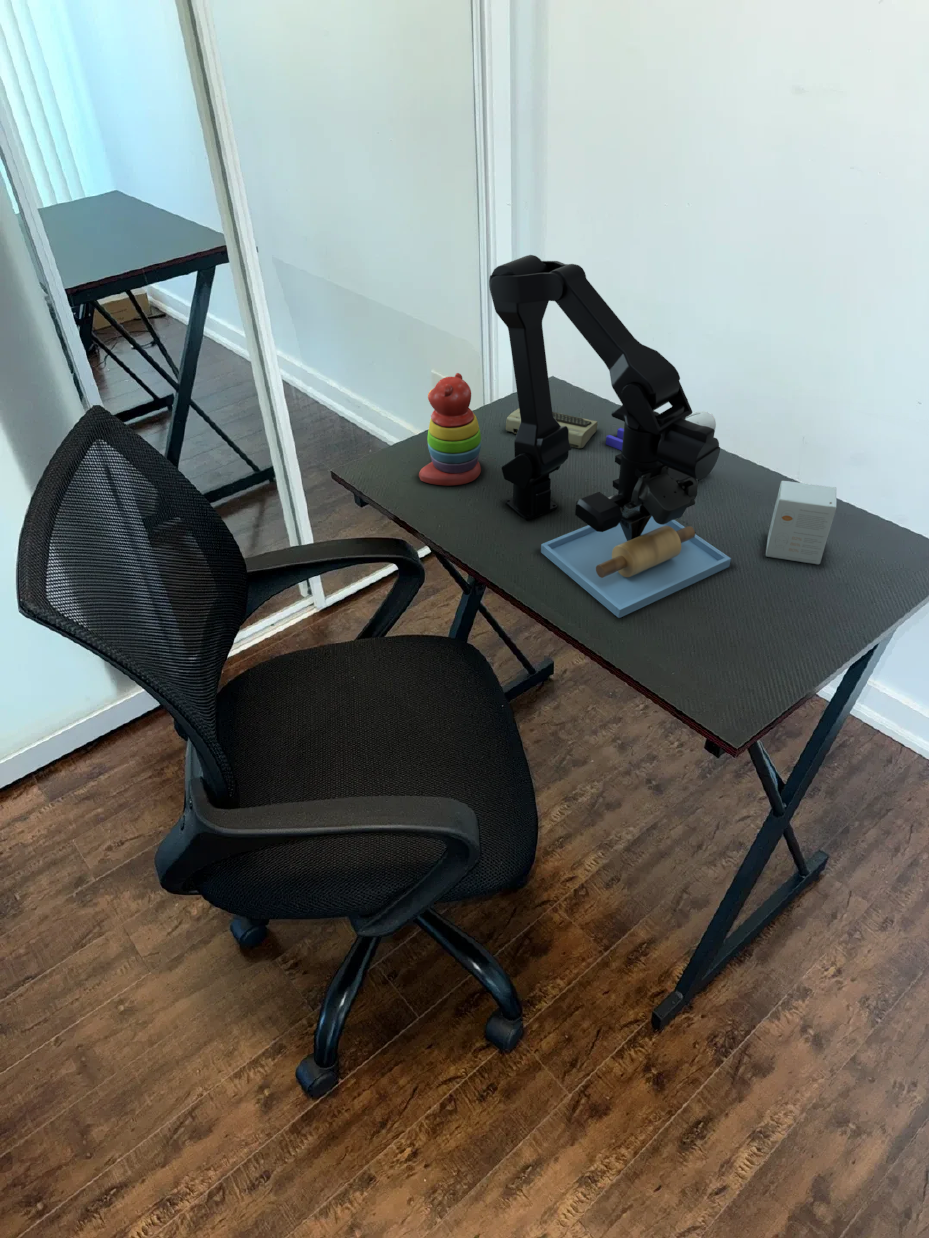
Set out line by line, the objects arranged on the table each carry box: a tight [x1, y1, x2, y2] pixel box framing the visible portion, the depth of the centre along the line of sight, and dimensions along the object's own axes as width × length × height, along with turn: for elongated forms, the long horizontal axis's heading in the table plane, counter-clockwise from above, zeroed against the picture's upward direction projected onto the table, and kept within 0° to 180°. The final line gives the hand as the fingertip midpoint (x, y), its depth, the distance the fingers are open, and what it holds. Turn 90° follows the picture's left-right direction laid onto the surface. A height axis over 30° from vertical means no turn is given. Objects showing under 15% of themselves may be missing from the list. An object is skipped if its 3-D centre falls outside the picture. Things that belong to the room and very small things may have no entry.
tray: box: [540, 517, 732, 619], centre depth 126 cm, size 19×21×2 cm
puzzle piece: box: [605, 427, 624, 452], centre depth 151 cm, size 10×12×2 cm
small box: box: [765, 480, 837, 565], centre depth 124 cm, size 8×6×10 cm
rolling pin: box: [596, 525, 696, 578], centre depth 123 cm, size 5×18×5 cm, turn 121°
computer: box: [505, 407, 599, 449], centre depth 157 cm, size 16×8×3 cm, turn 61°
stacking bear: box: [418, 372, 482, 486], centre depth 142 cm, size 11×10×18 cm
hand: (631, 543), depth 126 cm, fingers closed, pressing on rolling pin
